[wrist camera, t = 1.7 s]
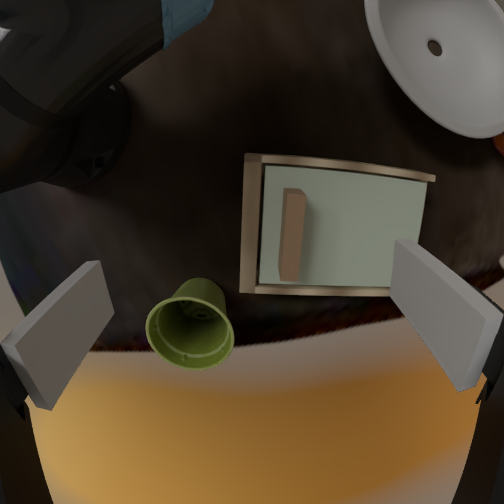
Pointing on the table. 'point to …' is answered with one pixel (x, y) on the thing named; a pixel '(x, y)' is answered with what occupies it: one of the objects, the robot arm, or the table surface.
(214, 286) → the plant pot
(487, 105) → the soup bowl
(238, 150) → the table surface
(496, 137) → the smoothie
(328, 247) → the cover plate
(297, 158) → the box
